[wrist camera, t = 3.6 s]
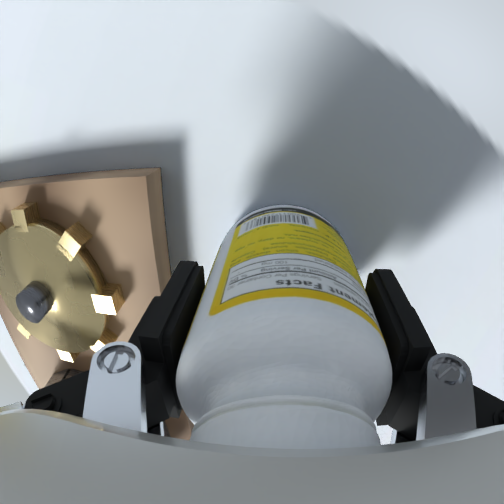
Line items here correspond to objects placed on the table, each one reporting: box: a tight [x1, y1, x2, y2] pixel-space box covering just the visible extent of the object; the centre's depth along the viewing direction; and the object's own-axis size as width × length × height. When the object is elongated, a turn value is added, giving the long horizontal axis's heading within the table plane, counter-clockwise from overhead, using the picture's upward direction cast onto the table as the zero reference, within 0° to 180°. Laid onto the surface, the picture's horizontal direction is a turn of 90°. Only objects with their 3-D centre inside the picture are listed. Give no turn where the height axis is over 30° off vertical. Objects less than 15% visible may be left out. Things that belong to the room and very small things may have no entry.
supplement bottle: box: [176, 205, 392, 449], centre depth 9 cm, size 5×5×10 cm
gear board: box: [0, 168, 194, 440], centre depth 17 cm, size 12×22×2 cm, turn 0°
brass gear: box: [0, 202, 125, 362], centre depth 12 cm, size 8×8×2 cm
